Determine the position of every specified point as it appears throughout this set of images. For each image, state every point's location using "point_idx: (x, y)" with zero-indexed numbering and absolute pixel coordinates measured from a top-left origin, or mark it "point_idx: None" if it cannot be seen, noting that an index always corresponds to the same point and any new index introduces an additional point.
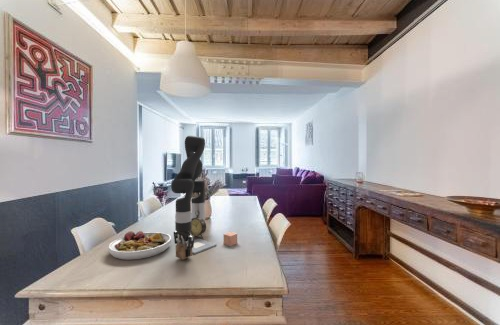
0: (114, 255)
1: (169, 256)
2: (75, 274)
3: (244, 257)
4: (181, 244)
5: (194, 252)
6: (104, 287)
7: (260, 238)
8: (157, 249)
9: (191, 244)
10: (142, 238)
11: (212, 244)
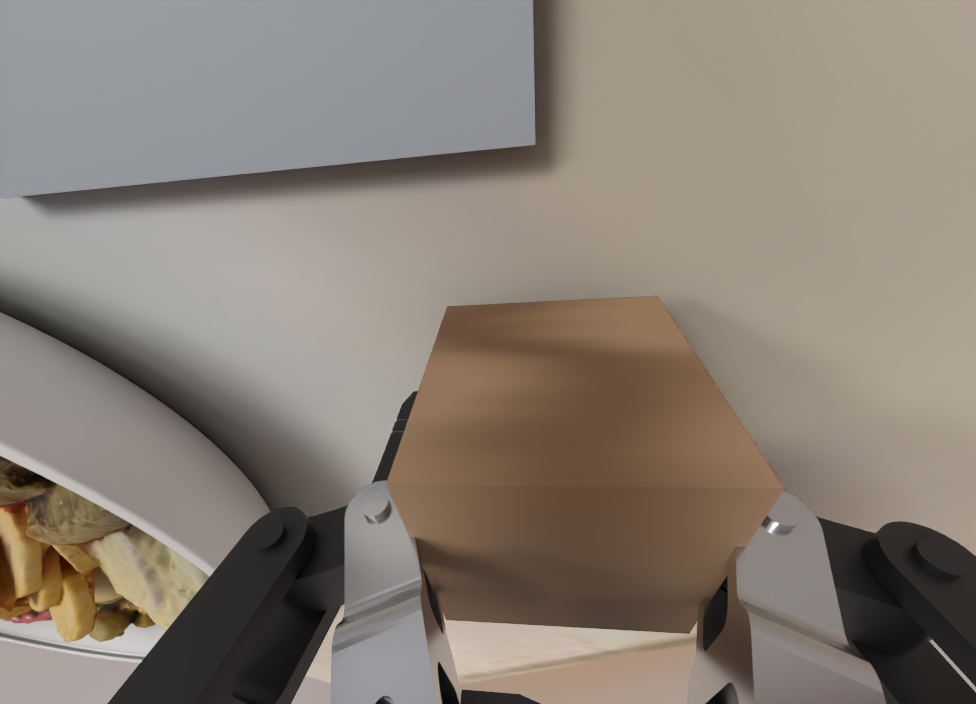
0: None
1: (349, 415)
2: (321, 656)
3: None
4: (502, 583)
5: (521, 131)
6: (523, 661)
7: None
8: (234, 538)
9: (956, 654)
10: None
11: None
